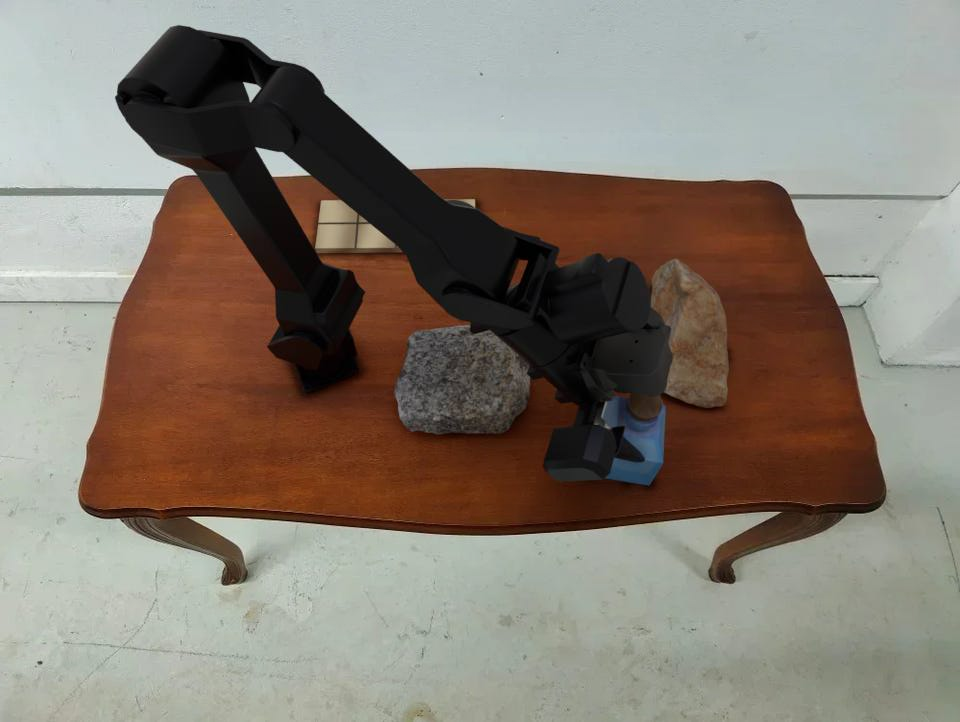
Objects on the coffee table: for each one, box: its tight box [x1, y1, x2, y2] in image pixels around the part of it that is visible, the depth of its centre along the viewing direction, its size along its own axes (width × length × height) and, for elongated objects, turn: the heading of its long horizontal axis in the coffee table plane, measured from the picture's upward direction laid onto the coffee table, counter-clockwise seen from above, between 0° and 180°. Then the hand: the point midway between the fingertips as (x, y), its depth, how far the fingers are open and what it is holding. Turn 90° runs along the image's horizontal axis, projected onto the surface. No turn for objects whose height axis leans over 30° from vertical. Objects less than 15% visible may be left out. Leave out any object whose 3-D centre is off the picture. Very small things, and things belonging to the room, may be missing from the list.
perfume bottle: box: [603, 394, 667, 487], centre depth 70 cm, size 6×6×12 cm
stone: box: [650, 258, 730, 409], centre depth 81 cm, size 17×9×10 cm, turn 172°
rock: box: [393, 324, 532, 436], centre depth 76 cm, size 13×6×15 cm
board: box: [314, 198, 476, 254], centre depth 90 cm, size 21×8×1 cm, turn 91°
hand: (647, 430), depth 69 cm, fingers closed on perfume bottle, 6 cm apart
